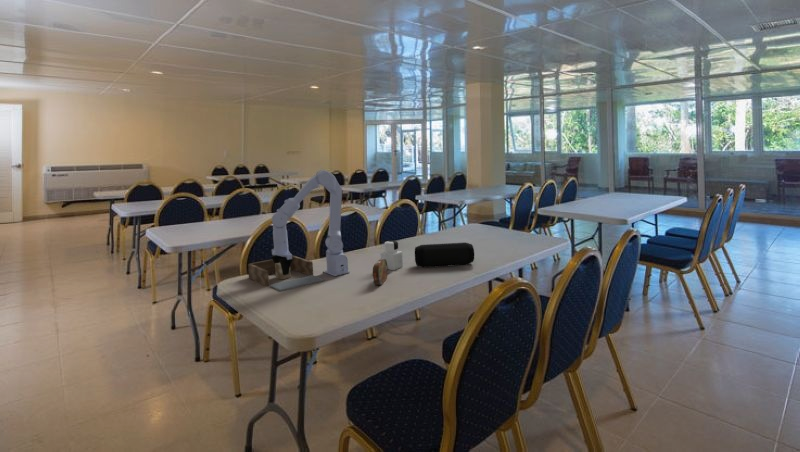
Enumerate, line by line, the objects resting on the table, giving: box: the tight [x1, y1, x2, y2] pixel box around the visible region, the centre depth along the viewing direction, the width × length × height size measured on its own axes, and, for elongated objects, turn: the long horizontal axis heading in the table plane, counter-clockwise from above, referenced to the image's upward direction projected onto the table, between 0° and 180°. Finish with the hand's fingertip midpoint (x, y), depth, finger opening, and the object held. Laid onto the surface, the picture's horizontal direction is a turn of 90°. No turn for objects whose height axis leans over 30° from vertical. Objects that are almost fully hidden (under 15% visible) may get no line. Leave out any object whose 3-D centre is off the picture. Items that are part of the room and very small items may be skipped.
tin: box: [372, 258, 389, 286], centre depth 173 cm, size 15×3×8 cm, turn 168°
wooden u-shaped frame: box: [247, 254, 314, 287], centre depth 184 cm, size 17×21×6 cm
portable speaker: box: [414, 242, 475, 268], centre depth 195 cm, size 26×10×10 cm, turn 98°
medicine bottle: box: [380, 240, 404, 271], centre depth 193 cm, size 7×7×12 cm
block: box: [275, 263, 292, 280], centre depth 182 cm, size 4×4×6 cm
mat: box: [269, 274, 325, 292], centre depth 174 cm, size 9×19×1 cm, turn 132°
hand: (283, 273), depth 182 cm, fingers closed on block, 4 cm apart
